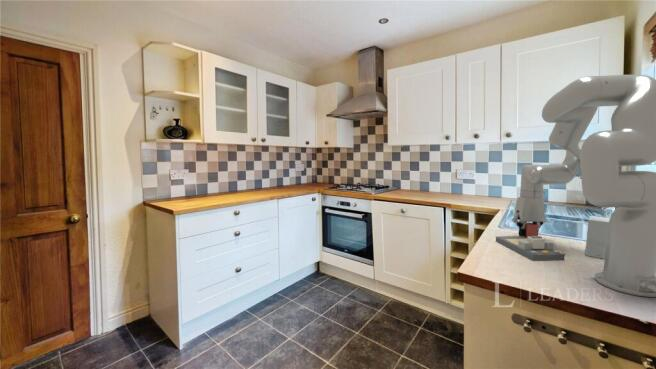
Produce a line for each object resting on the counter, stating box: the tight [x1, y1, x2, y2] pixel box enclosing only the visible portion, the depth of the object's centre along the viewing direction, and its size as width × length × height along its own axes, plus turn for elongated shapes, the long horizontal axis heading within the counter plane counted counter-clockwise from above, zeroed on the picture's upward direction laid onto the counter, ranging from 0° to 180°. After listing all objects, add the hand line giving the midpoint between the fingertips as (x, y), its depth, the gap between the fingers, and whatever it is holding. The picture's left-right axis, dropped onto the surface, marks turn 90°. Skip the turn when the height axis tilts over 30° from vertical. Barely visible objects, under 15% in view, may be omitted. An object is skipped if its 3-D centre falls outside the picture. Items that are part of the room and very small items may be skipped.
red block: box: [525, 222, 539, 238], centre depth 115 cm, size 4×4×6 cm
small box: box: [584, 215, 610, 260], centre depth 97 cm, size 8×6×13 cm
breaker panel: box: [495, 235, 566, 262], centre depth 103 cm, size 20×11×4 cm, turn 1°
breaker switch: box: [527, 235, 546, 249], centre depth 98 cm, size 3×4×4 cm
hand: (528, 236), depth 116 cm, fingers closed on red block, 4 cm apart
